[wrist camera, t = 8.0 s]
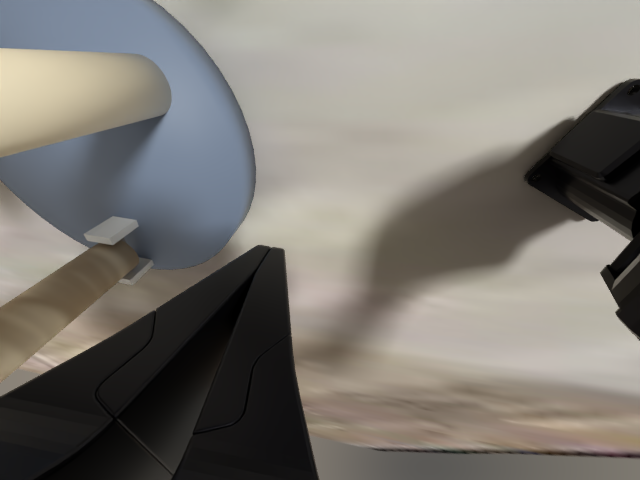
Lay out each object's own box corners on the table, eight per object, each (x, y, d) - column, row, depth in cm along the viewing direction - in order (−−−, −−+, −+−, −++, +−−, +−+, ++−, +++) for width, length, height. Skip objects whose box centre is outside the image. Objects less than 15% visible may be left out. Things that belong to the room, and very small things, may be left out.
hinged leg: (138, 236, 19) (-122, 428, 9) (150, 266, 21) (-54, 454, 11) (100, 228, 20) (-194, 409, 9) (116, 259, 22) (-115, 437, 11)
